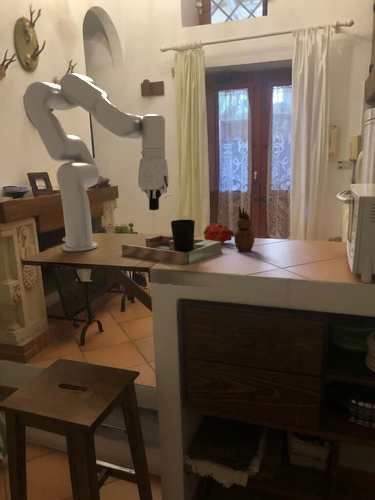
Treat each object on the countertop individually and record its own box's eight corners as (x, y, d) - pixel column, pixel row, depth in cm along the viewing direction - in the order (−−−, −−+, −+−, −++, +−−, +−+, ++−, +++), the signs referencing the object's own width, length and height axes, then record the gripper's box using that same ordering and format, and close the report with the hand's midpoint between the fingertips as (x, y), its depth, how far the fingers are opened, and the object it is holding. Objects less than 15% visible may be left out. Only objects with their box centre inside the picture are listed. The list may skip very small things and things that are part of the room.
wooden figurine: (231, 249, 135) (231, 206, 132) (245, 247, 138) (245, 205, 134) (243, 253, 129) (242, 208, 126) (257, 251, 132) (257, 207, 128)
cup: (194, 261, 122) (193, 223, 120) (170, 260, 124) (168, 223, 121) (197, 255, 130) (196, 219, 127) (174, 255, 131) (173, 219, 128)
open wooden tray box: (122, 254, 135) (121, 244, 134) (159, 243, 150) (158, 234, 149) (187, 264, 118) (186, 253, 117) (221, 251, 133) (221, 241, 132)
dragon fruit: (202, 246, 150) (232, 252, 146) (197, 237, 142) (229, 243, 138) (208, 226, 153) (238, 232, 149) (204, 216, 145) (235, 222, 141)
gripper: (129, 154, 130) (130, 208, 135) (163, 154, 121) (163, 213, 126) (145, 154, 136) (145, 206, 141) (178, 154, 127) (178, 210, 132)
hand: (154, 209), depth 133 cm, fingers closed
